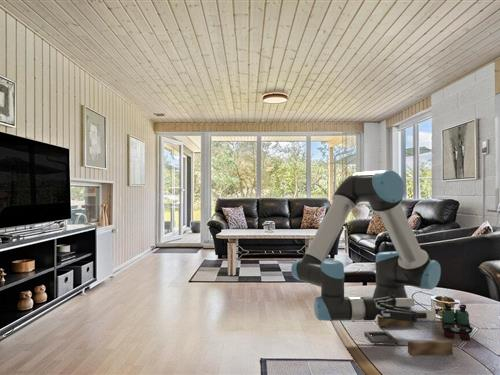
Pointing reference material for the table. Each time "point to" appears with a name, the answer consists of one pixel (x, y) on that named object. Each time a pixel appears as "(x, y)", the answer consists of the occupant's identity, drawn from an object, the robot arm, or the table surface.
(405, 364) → the table surface
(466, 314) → the binoculars
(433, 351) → the channel
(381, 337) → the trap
